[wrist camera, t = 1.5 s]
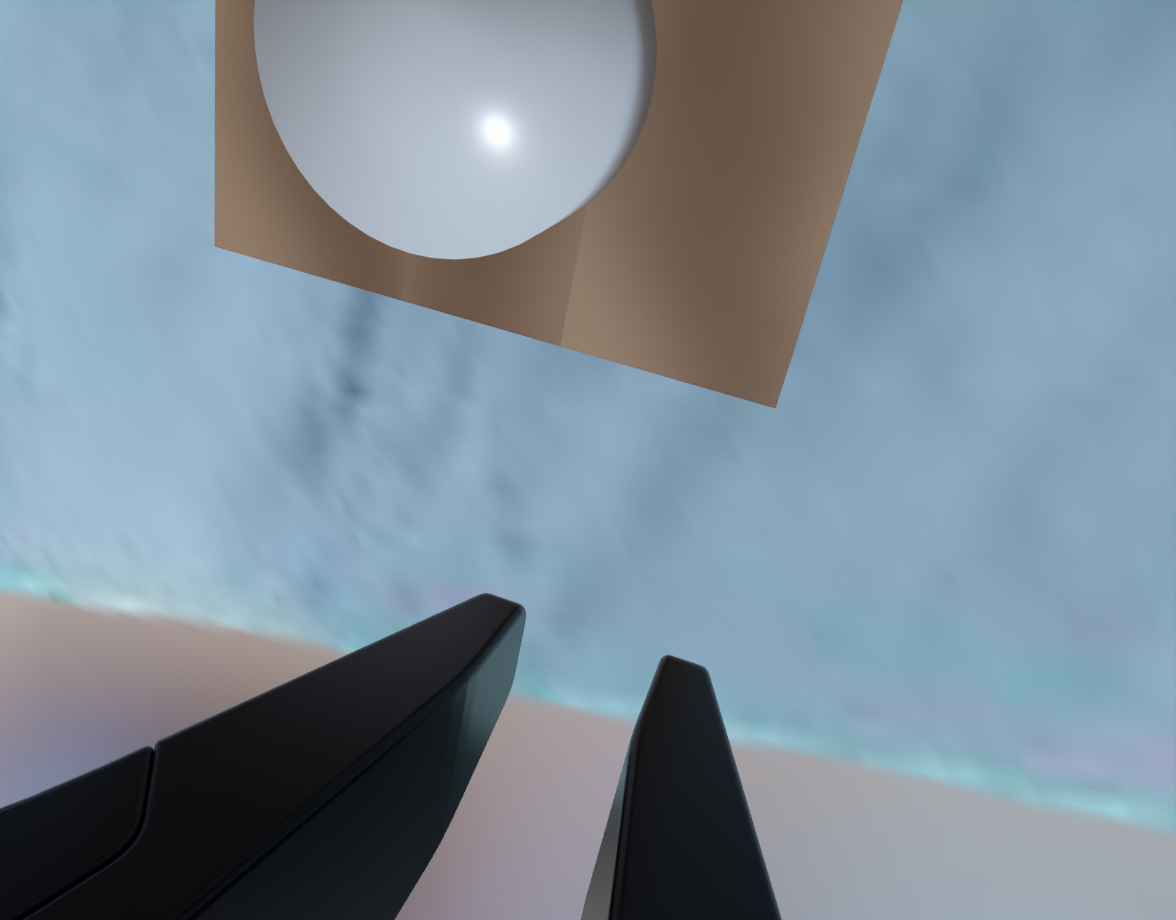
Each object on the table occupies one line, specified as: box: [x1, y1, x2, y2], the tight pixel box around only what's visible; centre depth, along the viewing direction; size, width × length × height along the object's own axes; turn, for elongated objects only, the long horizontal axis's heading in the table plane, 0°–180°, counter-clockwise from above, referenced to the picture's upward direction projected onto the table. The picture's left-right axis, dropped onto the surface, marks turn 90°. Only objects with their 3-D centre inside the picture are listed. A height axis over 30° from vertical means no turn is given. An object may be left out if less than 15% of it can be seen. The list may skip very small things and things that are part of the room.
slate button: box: [254, 0, 657, 259], centre depth 15 cm, size 6×6×5 cm
